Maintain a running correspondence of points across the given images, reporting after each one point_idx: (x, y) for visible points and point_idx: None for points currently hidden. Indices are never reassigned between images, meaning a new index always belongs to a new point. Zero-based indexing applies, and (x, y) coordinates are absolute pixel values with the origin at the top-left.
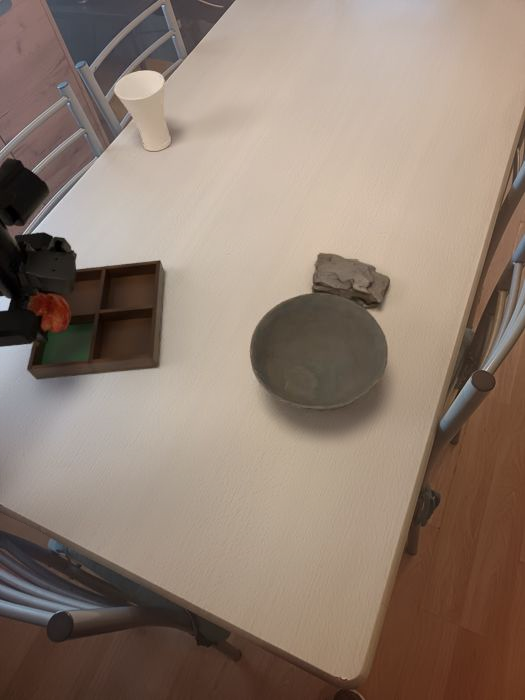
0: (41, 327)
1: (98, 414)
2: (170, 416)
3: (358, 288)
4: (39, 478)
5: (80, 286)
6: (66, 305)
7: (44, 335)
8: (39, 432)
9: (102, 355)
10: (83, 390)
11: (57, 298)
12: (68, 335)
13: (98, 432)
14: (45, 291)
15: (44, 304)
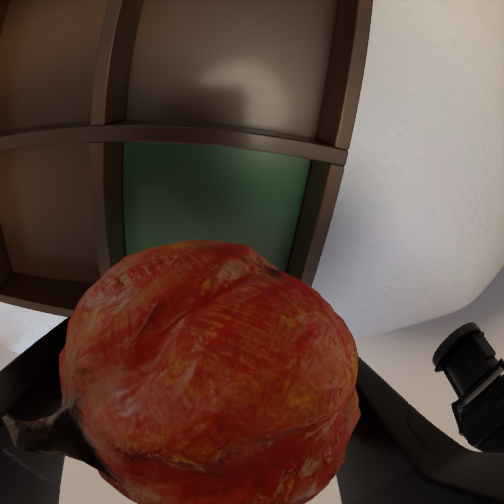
0: (385, 424)
1: (432, 157)
2: (466, 18)
3: None
4: (471, 269)
5: (10, 217)
6: (148, 294)
7: (366, 375)
8: (410, 280)
9: (269, 121)
10: (362, 188)
11: (108, 388)
12: (163, 237)
13: (461, 164)
14: (57, 397)
15: (249, 500)
